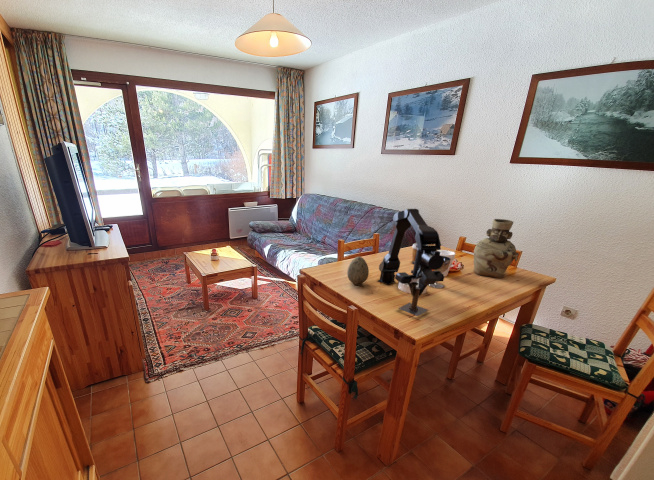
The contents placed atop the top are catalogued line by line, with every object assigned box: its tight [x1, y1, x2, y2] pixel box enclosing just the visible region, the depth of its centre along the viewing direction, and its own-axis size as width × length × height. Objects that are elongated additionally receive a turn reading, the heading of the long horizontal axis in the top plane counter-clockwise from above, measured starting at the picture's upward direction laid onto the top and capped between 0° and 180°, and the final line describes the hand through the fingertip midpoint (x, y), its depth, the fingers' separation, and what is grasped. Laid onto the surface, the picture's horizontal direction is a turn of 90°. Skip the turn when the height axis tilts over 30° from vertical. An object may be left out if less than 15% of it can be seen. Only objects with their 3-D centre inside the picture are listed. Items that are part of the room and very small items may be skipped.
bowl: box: [397, 279, 429, 295], centre depth 153 cm, size 13×13×5 cm
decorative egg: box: [346, 256, 370, 286], centre depth 160 cm, size 11×11×15 cm
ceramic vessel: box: [473, 218, 520, 279], centre depth 171 cm, size 19×21×30 cm
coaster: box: [398, 302, 429, 317], centre depth 134 cm, size 9×9×2 cm
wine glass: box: [428, 256, 451, 289], centre depth 158 cm, size 8×8×15 cm
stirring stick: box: [409, 287, 420, 311], centre depth 131 cm, size 4×4×10 cm
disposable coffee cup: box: [411, 242, 417, 264], centre depth 190 cm, size 10×10×12 cm
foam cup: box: [437, 249, 456, 277], centre depth 173 cm, size 10×9×13 cm
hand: (415, 295), depth 131 cm, fingers open, 3 cm apart
